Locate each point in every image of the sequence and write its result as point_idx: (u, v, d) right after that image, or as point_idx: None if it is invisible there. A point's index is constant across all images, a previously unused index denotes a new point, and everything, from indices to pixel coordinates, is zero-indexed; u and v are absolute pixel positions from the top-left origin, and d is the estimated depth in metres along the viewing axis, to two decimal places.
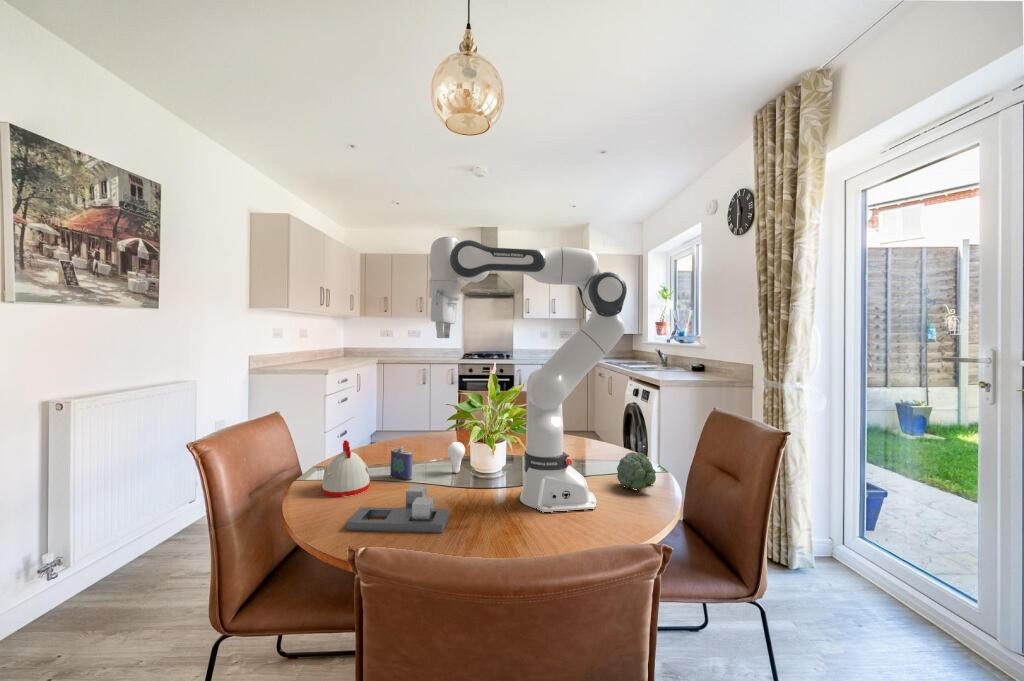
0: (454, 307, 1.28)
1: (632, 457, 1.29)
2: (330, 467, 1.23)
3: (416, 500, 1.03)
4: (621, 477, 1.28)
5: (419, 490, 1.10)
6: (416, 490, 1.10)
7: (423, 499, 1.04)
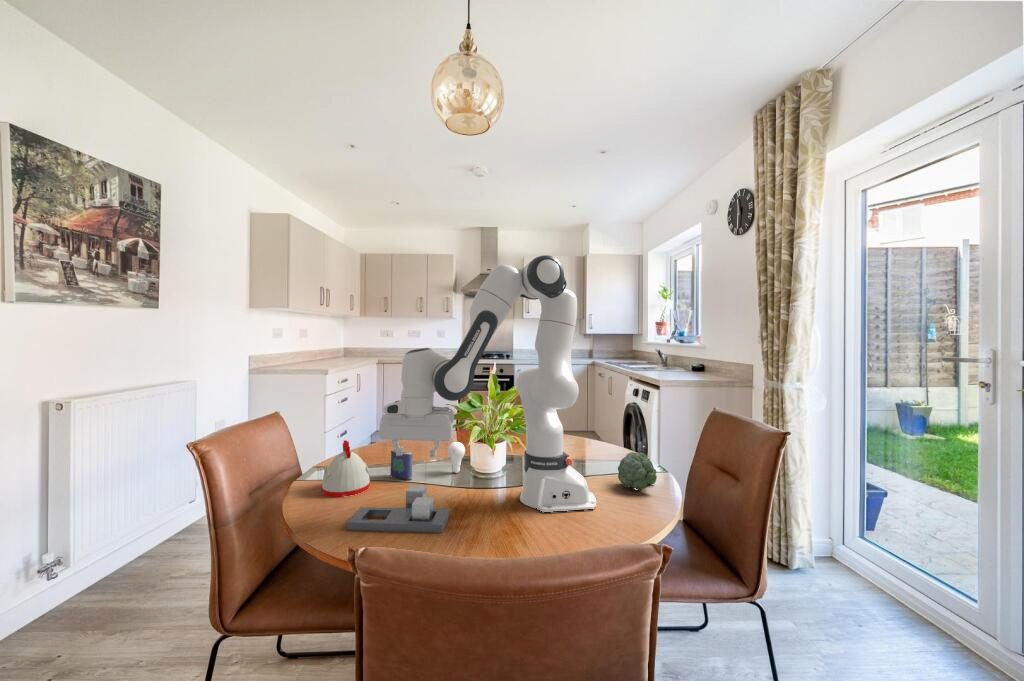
0: None
1: (633, 457, 1.29)
2: (330, 467, 1.23)
3: (416, 500, 1.03)
4: (622, 477, 1.29)
5: (419, 490, 1.10)
6: (416, 490, 1.10)
7: (423, 499, 1.04)
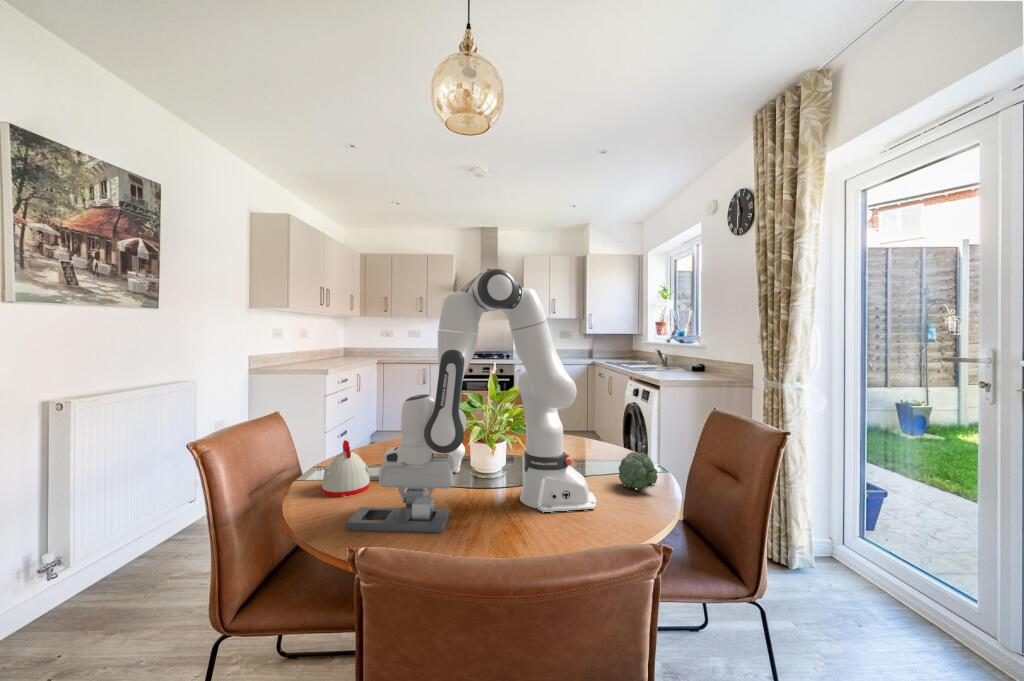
0: None
1: (634, 457, 1.29)
2: (330, 467, 1.23)
3: (416, 500, 1.03)
4: (623, 477, 1.29)
5: (420, 490, 1.10)
6: (416, 490, 1.10)
7: (423, 499, 1.04)
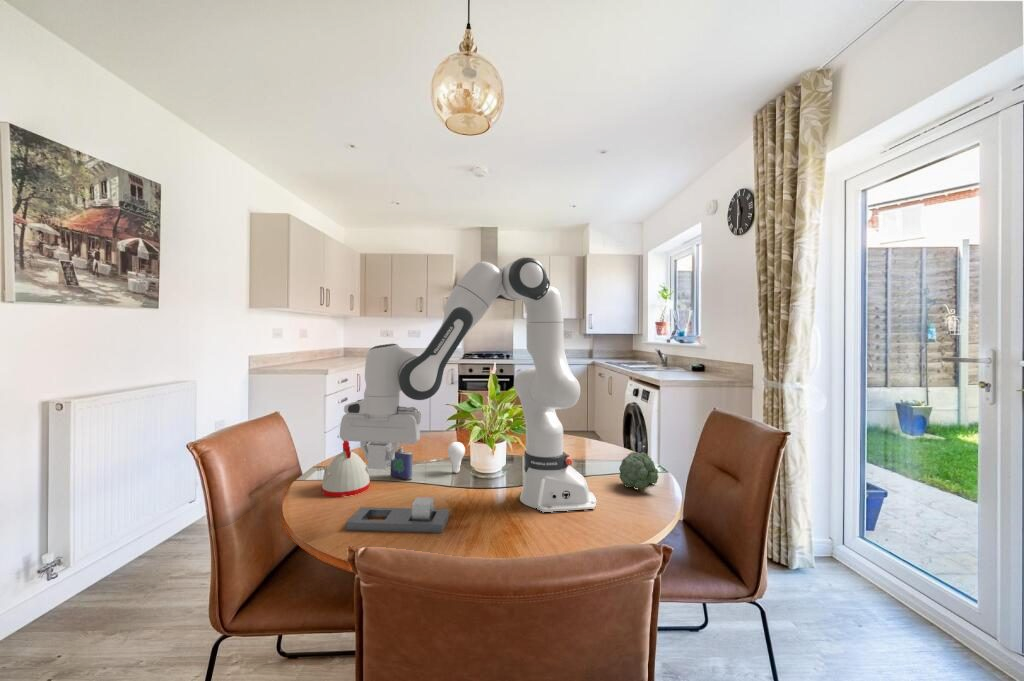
0: None
1: (634, 457, 1.29)
2: (330, 467, 1.23)
3: (416, 500, 1.03)
4: (624, 477, 1.29)
5: (383, 445, 1.03)
6: (379, 444, 1.03)
7: (423, 499, 1.04)
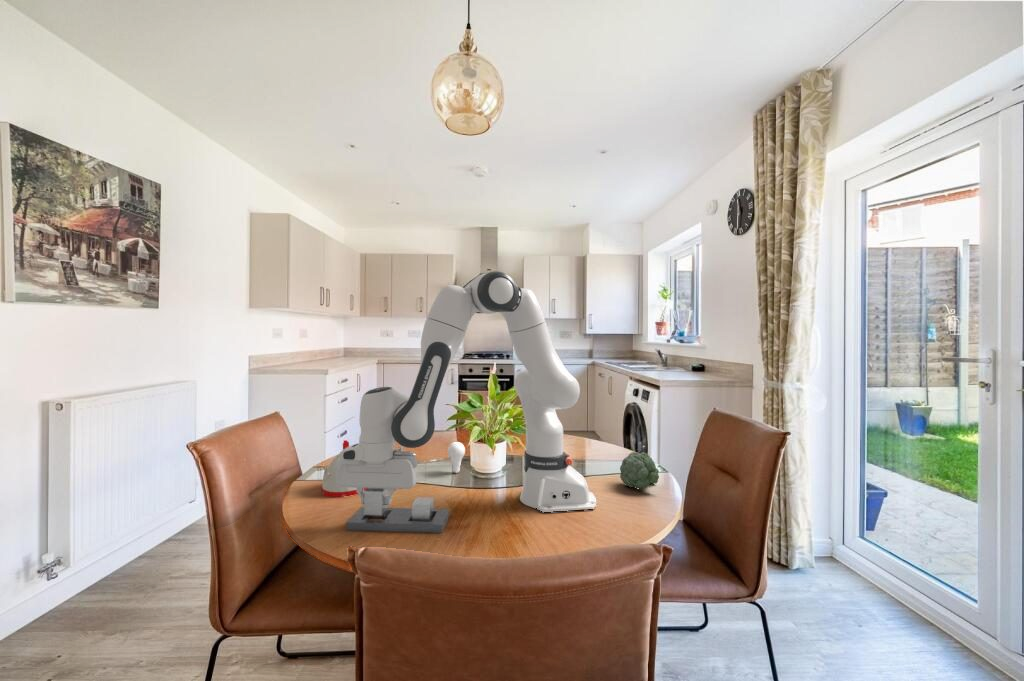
0: None
1: (635, 457, 1.29)
2: (330, 467, 1.23)
3: (416, 500, 1.03)
4: (624, 477, 1.29)
5: (379, 490, 1.02)
6: (376, 490, 1.02)
7: (423, 499, 1.04)
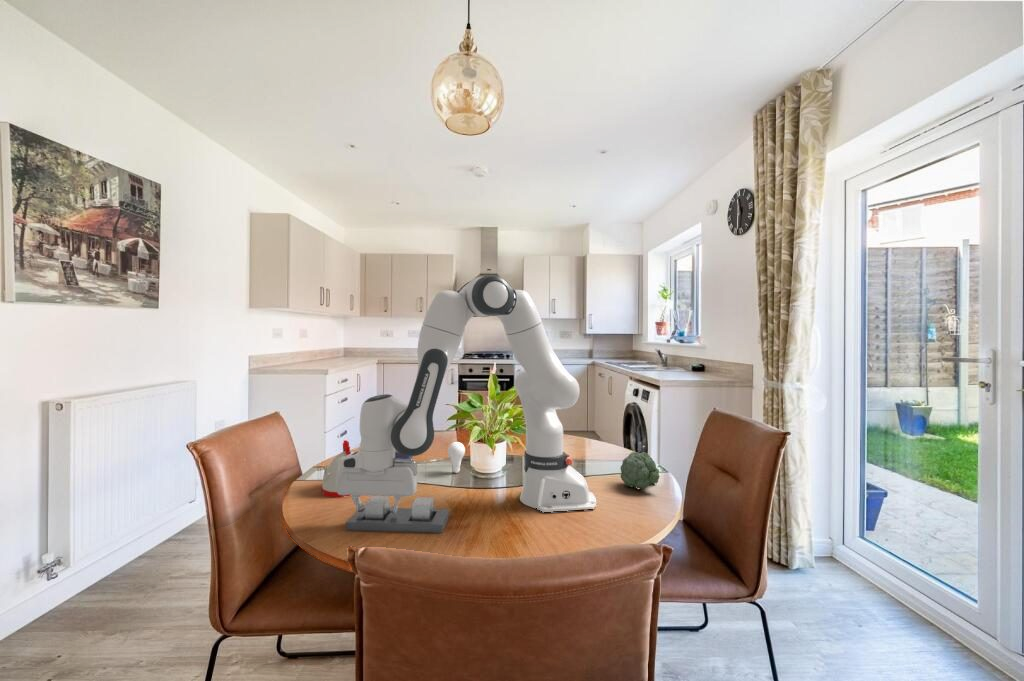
0: None
1: (636, 456, 1.29)
2: (330, 467, 1.23)
3: (416, 500, 1.03)
4: (625, 476, 1.29)
5: (380, 502, 1.02)
6: (376, 502, 1.02)
7: (423, 499, 1.04)
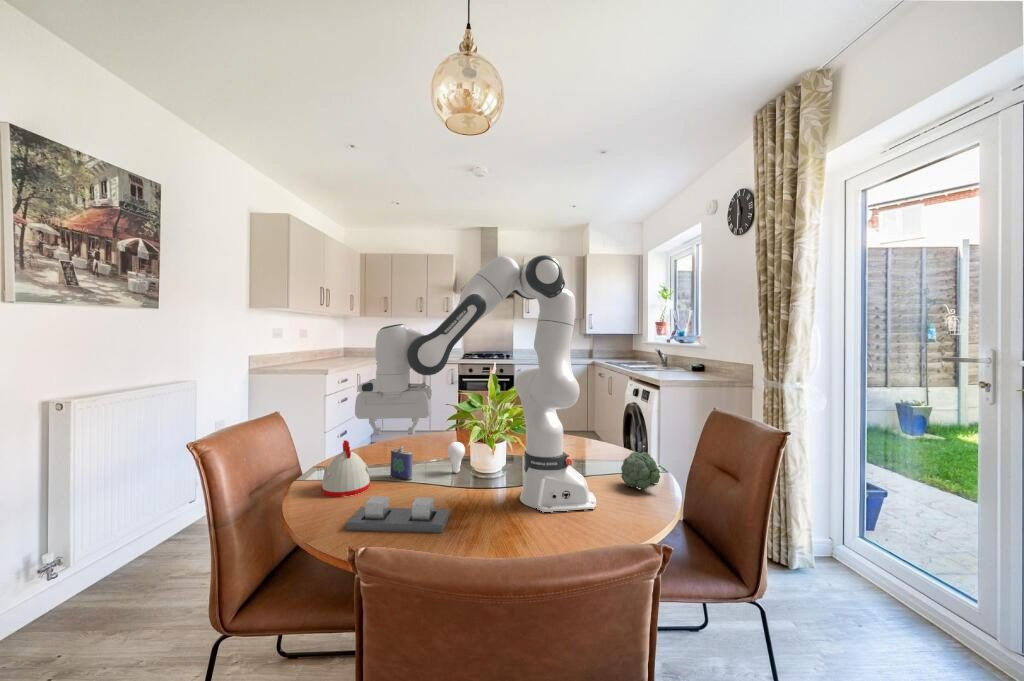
0: None
1: (636, 456, 1.29)
2: (330, 467, 1.23)
3: (416, 500, 1.03)
4: (625, 476, 1.29)
5: (380, 502, 1.02)
6: (376, 502, 1.02)
7: (423, 499, 1.04)
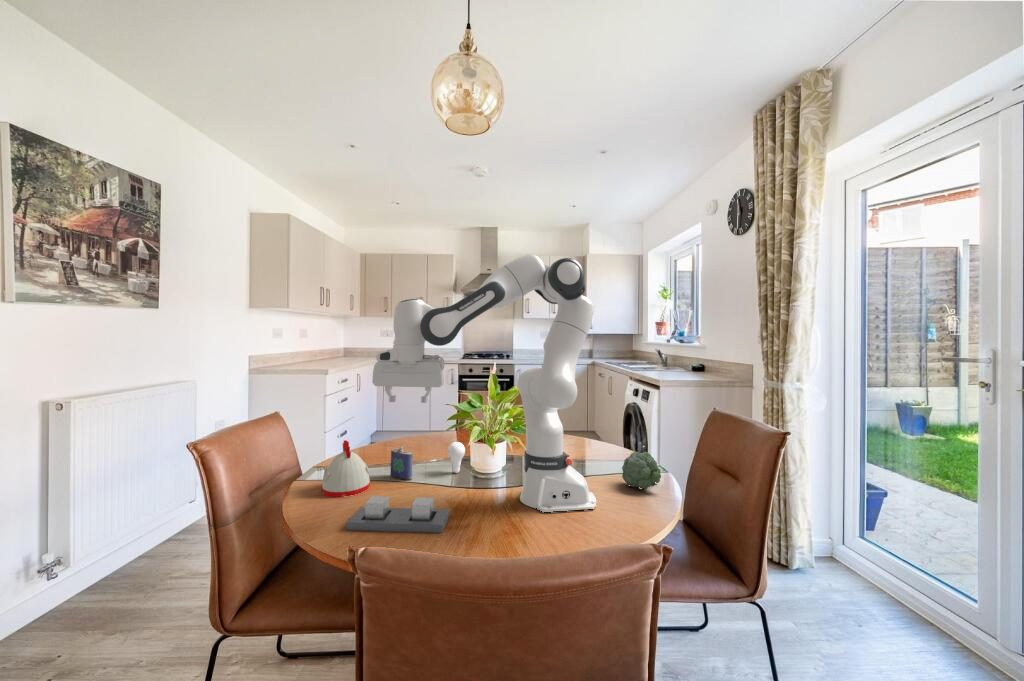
0: None
1: (637, 456, 1.29)
2: (330, 467, 1.23)
3: (416, 500, 1.03)
4: (626, 476, 1.29)
5: (380, 502, 1.02)
6: (376, 502, 1.02)
7: (423, 499, 1.04)
